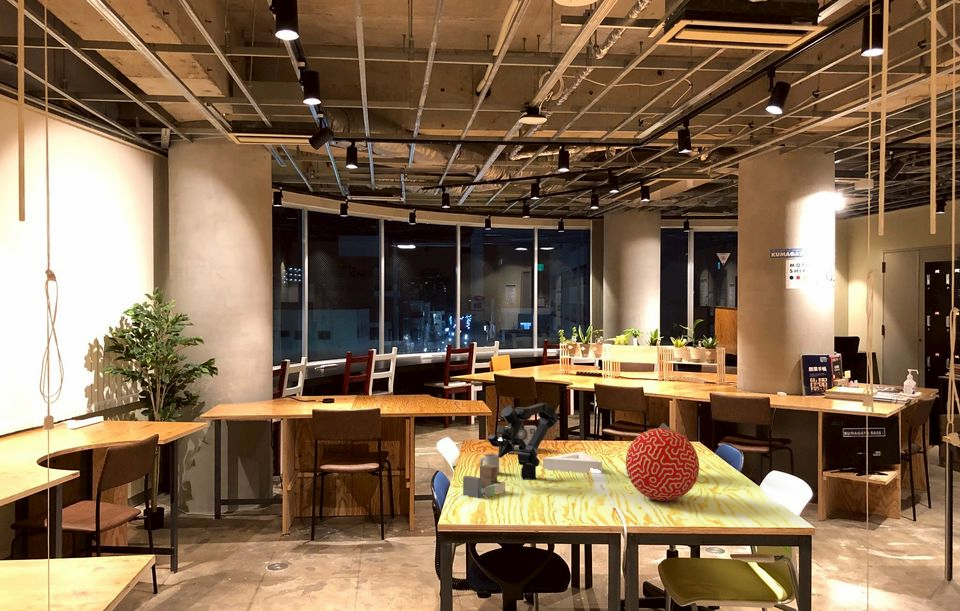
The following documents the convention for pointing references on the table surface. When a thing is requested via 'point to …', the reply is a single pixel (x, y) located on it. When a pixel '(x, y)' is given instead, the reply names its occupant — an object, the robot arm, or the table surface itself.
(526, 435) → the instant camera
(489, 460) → the cup
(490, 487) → the gauge base
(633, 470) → the ball
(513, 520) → the table surface
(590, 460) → the triangular ruler
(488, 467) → the gauge carriage
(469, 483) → the grey square slab
